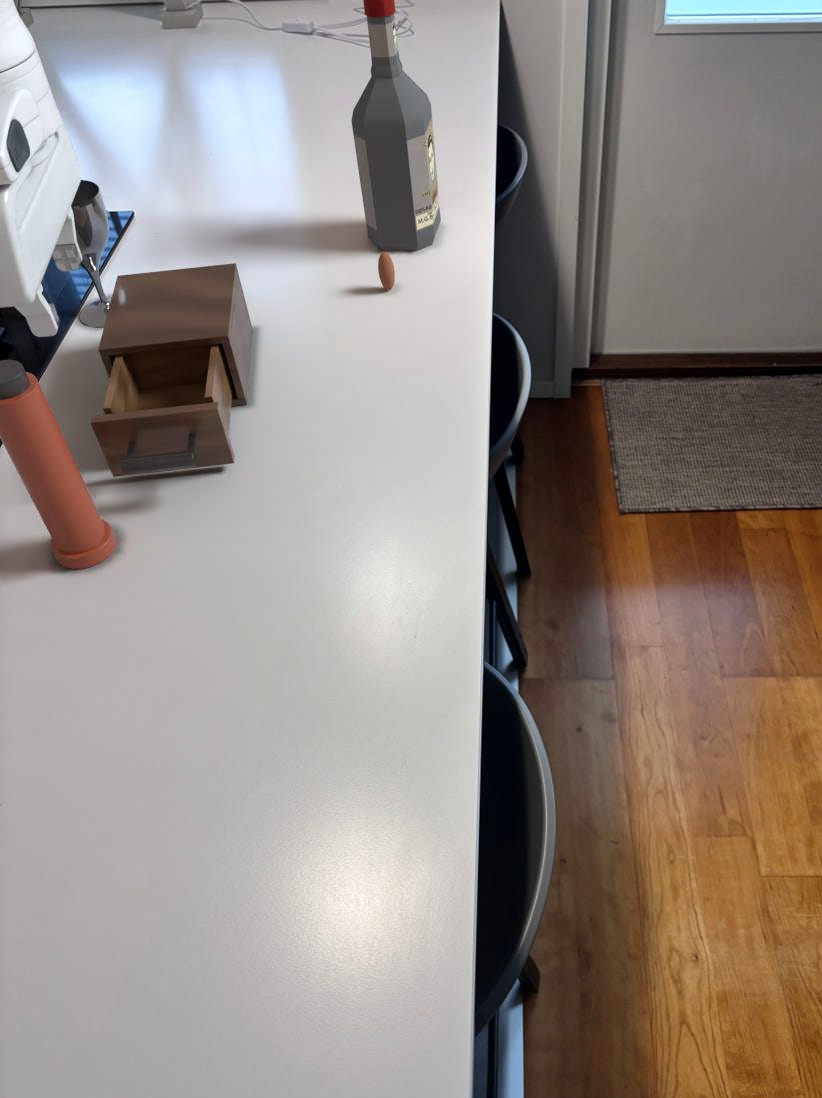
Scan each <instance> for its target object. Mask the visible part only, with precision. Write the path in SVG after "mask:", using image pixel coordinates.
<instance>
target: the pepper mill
mask: <svg viewBox="0 0 822 1098" xmlns="http://www.w3.org/2000/svg"><path fill="white" fill-rule="evenodd" d="M0 441H1V443H2V445H3V447H4V448H5V451H6V453H7V454H8V456H9V458H10V460H11V461H12V464H13V466H14V468H15V469H16V472H17V473H18V475H19V477H20V480H21V481H22V484H23V485H24V487H25V489H26V491H27V494H28V495H29V497H30V498H31V500H32V502H33V504H34V506H35V508H36V510H37V512H38V514H39V516H40V518H41V520H42V521H43V524H44V526H45V528H46V530H47V531H48V534H49V536H50V538H51V539H50V549H51V551H52V553H53V556H54V557H55V560H57V562H58V563H59V564H60V565H61V566H63V567H64V568H67V569H70V570H71V569H72V570H81V569H87V568H92V567H94V566H97V565H98V564H101V563H102V562H104V561H105V560H107V559H108V558H109V557H110V556H111V555H112V554H113V553H114V551H115V549H116V546H117V538H116V536H115V534H114V531H113V529H112V527H111V524H110V523H108V522H107V520H105V519H102V518H101V516H100V513H99V512H98V508H97V506H96V504H95V502H94V500H93V499H92V496H91V494H90V492H89V489H88V487H87V485H86V483H85V481H84V479H83V476H82V474H81V472H80V470H79V468H78V465H77V463H76V461H75V459H74V456H73V455H72V452H71V450H70V448H69V446H68V444H67V441H66V439H65V437H64V435H63V433H62V431H61V429H60V426H59V424H58V422H57V420H56V417H55V415H54V413H53V410H52V409H51V407H50V404H49V402H48V399H47V398H46V396H45V393H44V391H43V389H42V386H41V384H40V382H39V379H38V378H37V377H36V376H35V375H34V374H33V373H31V372H28V371H26V370H25V368H24V365H23V364H22V363H21V362H20V361H18V360H15V359H1V360H0Z"/></svg>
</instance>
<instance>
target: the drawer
mask: <svg viewBox="0 0 822 1098" xmlns="http://www.w3.org/2000/svg"><path fill="white" fill-rule="evenodd" d="M108 380H109V381H108V385H107V389H106V393H105V397H104V401H103V404H102V405H103V406H102V411H103V413H104V414H97V415H91V419H90V422H89V423H90V426H91V428H92V430H93V433H94V435H95V438H96V440H97V442H98V444H99V447H100V449H101V451H102V454H103V457H104V458H105V461H106V463H107V466H108V467H109V470H110V473H111V475H112V477H114V478H118V477H127V476H134V475H135V476H136V475H143V474H153V473H161V472H170V471H171V472H172V471H180V470H187V469H188V470H190V469H197V468H198V469H199V468H206V467H214V466H224V465H233V464H235V458H236V456H235V453H234V450H233V446H232V443H231V439H230V436H229V434H230V425H231V424H230V423H231V415H232V406H231V404H232V393H233V380H232V377H231V373H230V370H229V366H228V363H227V359H226V356H225V352H224V349H223V345H222V344H212V345H203V346H194V347H185V348H176V349H167V350H158V351H148V352H139V353H130V354H121V355H115V359H114V363H113V368H112V372H111V376H110V379H108Z"/></svg>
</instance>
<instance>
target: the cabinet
mask: <svg viewBox="0 0 822 1098" xmlns="http://www.w3.org/2000/svg"><path fill="white" fill-rule="evenodd" d="M243 289H244V288H243V285H242V282H241V277H240V274H239V270H238V265H237V263H236V262H235V263H224V264H214V265H206V266H197V267H185V268H177V269H176V268H175V269H169V270H158V271H149V272H140V273H139V272H138V273H130V274H120V275H117V277H116V280H115V284H114V288H113V292H112V294H111V297H112V299H111V303H110V307H109V310H108V314H107V318H106V322H105V325H104V327H103V330H102V334H101V336H100V341H99V345H98V348H97V351H98V355H99V356H100V359H101V361H102V364H103V366H104V369H105V371H106V374H107V376H108V380H110V376H111V372H112V368H113V363H114V359H115V355H121V354H130V353H139V352H148V351H158V350H167V349H176V348H185V347H194V346H203V345H212V344H222V345H223V349H224V352H225V356H226V359H227V363H228V366H229V370H230V373H231V377H232V380H233V393H232V404H231V407H236V406H247V405H248V397H249V385H250V374H251V373H250V372H251V358H252V344H253V332H254V329H253V325H252V321H251V316H250V313H249V309H248V305H247V302H246V298H245V292H244V290H243Z"/></svg>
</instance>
